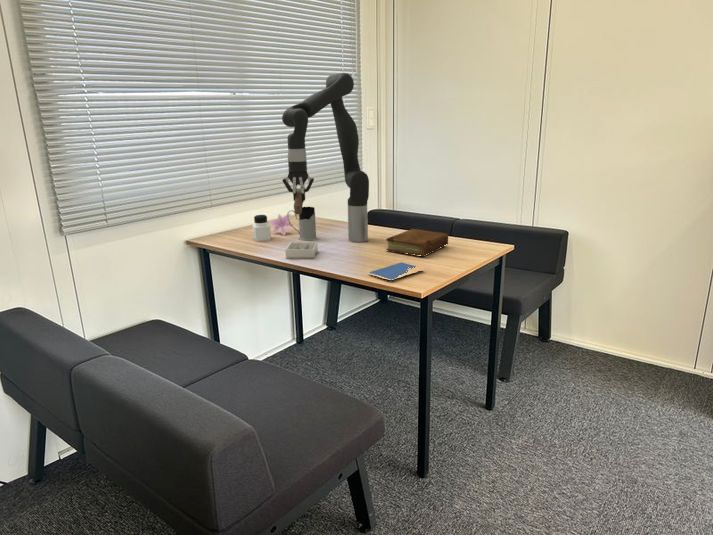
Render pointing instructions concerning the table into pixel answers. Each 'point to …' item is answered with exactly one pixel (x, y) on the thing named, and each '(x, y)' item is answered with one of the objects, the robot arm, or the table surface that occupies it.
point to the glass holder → (306, 224)
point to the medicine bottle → (261, 228)
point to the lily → (281, 224)
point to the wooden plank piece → (298, 202)
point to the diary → (417, 242)
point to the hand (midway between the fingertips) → (299, 201)
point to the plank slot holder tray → (301, 250)
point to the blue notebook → (392, 270)
